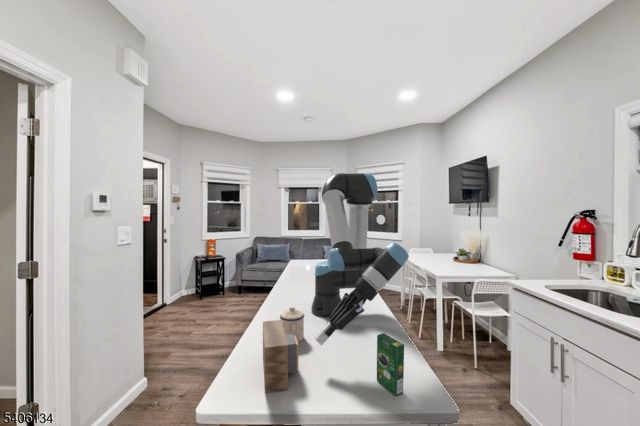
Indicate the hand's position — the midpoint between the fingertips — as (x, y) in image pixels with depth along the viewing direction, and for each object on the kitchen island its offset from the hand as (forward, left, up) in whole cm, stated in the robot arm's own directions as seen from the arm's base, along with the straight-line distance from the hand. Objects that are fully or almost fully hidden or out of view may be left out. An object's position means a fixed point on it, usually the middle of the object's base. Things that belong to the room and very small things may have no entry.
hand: (318, 341), depth 88 cm
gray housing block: (+11, 0, -6) cm, 13 cm away
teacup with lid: (+5, -20, -8) cm, 22 cm away
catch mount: (+13, 0, -8) cm, 15 cm away
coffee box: (-17, +14, -8) cm, 23 cm away
